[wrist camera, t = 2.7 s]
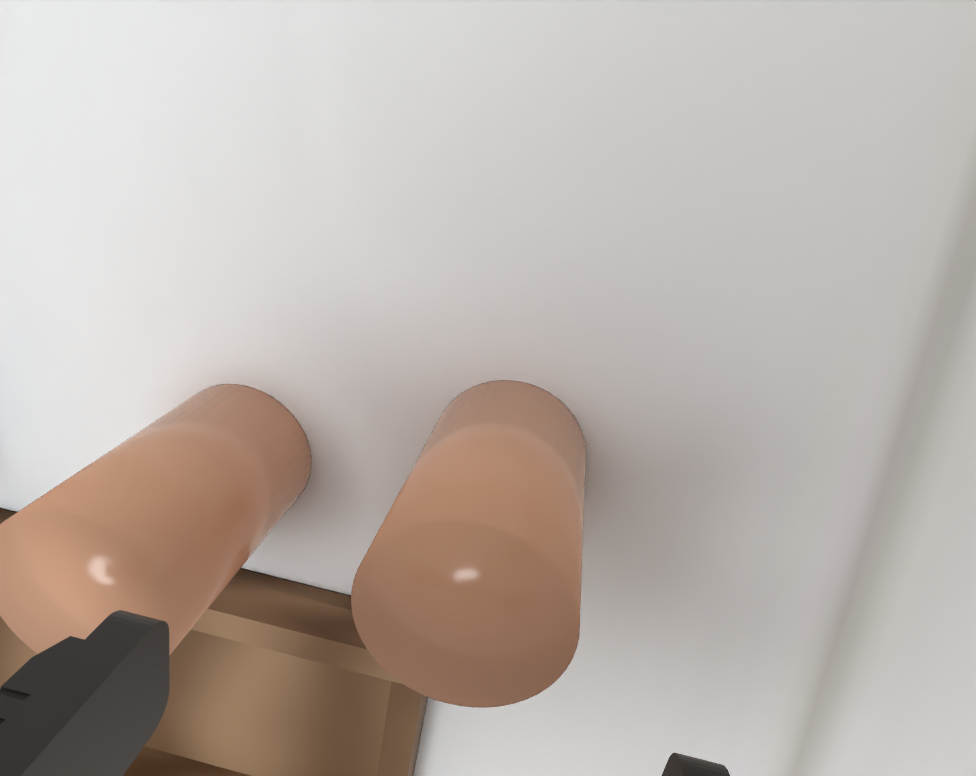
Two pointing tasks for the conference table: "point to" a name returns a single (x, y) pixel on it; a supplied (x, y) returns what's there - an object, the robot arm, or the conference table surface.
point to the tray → (272, 690)
